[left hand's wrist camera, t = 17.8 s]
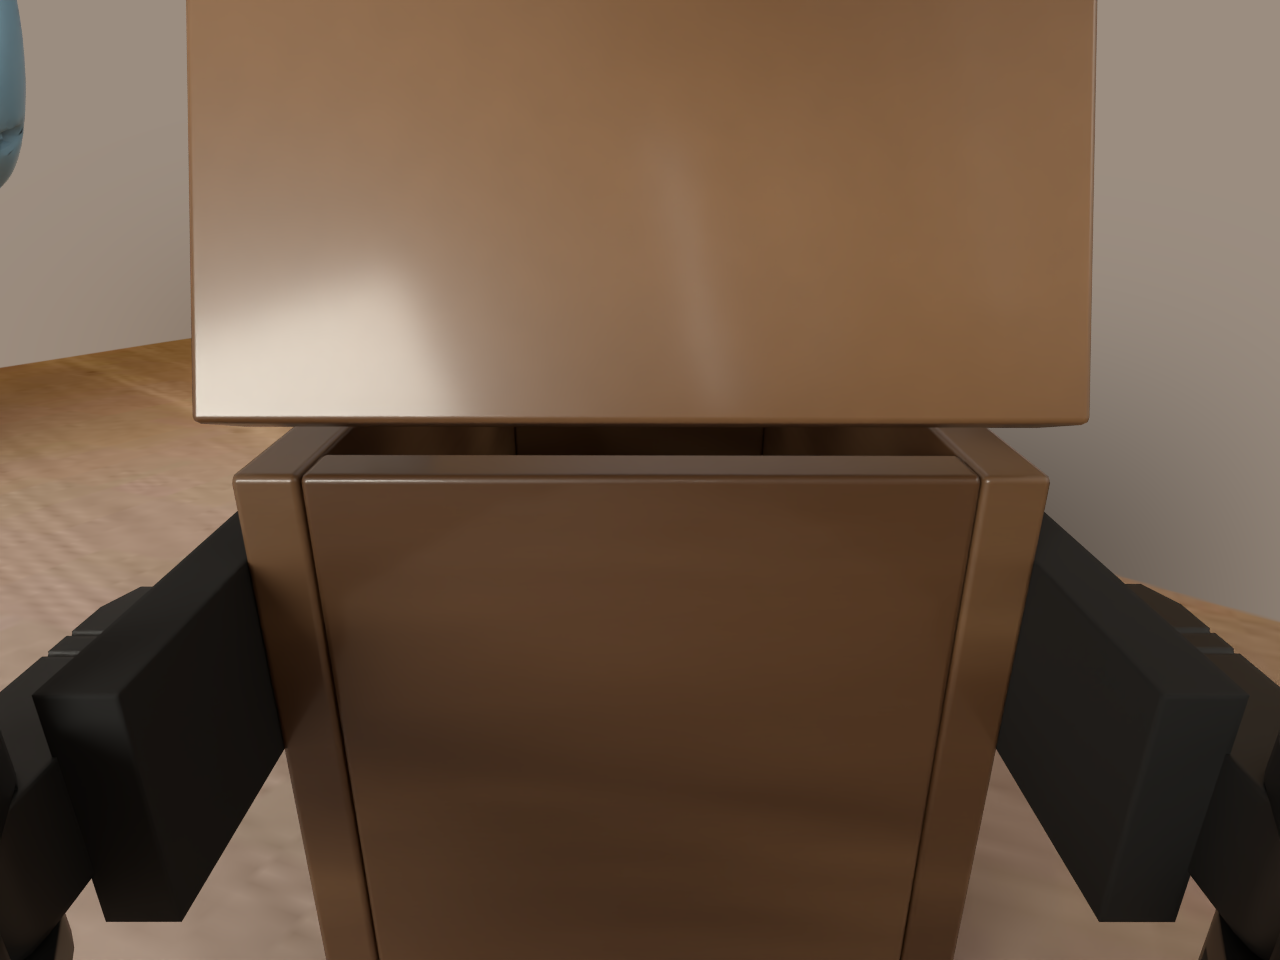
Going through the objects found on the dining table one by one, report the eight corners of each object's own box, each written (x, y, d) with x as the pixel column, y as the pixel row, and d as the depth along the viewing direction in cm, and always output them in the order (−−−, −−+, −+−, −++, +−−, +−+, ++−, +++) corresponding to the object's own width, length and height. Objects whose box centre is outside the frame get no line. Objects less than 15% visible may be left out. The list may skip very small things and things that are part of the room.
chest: (502, 562, 27) (482, 272, 24) (775, 562, 28) (796, 273, 24) (341, 1050, 13) (226, 476, 9) (937, 1050, 13) (1054, 477, 9)
